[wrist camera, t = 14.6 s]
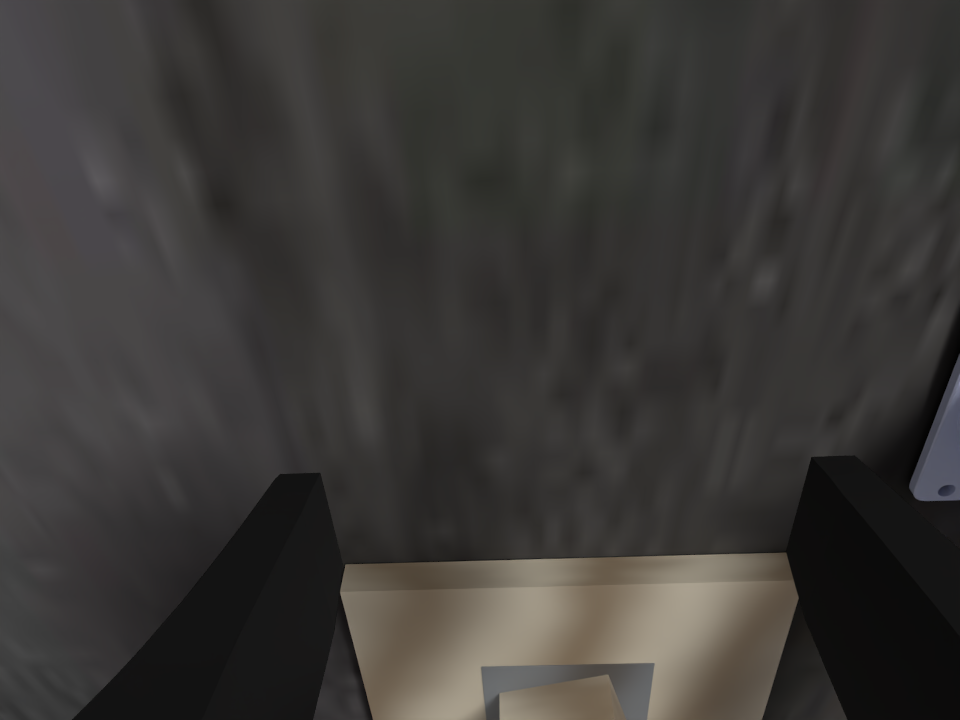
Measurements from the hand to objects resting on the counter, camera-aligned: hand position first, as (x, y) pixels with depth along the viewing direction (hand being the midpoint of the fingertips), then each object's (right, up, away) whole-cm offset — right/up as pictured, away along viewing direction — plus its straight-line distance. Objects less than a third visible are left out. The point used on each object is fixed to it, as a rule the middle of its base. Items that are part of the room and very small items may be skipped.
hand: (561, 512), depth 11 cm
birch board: (+2, -11, +20) cm, 23 cm away
